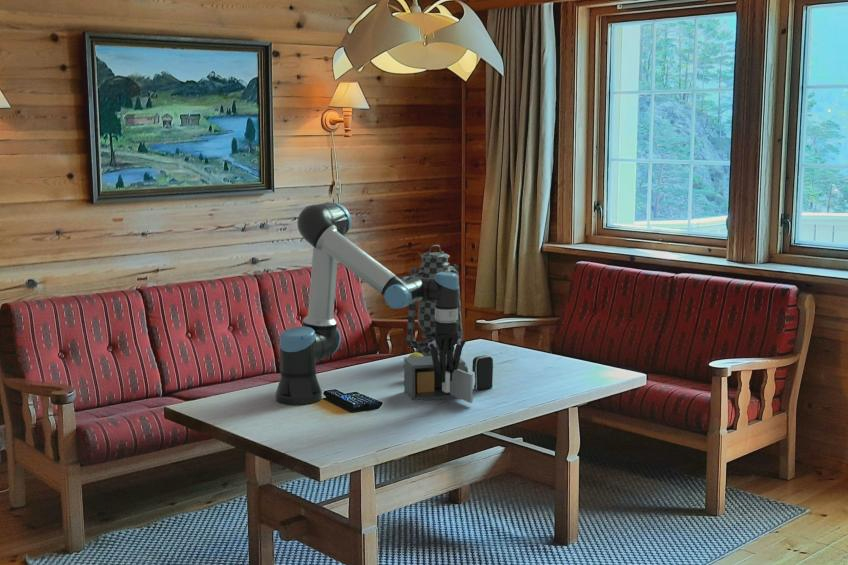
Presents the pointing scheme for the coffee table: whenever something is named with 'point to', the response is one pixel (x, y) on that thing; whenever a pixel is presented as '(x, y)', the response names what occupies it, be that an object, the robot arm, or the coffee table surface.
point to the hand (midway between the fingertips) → (445, 391)
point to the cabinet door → (462, 385)
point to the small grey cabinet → (425, 379)
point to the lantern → (426, 309)
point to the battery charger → (483, 372)
